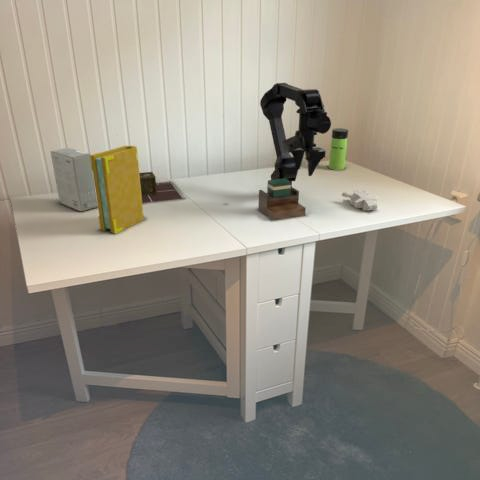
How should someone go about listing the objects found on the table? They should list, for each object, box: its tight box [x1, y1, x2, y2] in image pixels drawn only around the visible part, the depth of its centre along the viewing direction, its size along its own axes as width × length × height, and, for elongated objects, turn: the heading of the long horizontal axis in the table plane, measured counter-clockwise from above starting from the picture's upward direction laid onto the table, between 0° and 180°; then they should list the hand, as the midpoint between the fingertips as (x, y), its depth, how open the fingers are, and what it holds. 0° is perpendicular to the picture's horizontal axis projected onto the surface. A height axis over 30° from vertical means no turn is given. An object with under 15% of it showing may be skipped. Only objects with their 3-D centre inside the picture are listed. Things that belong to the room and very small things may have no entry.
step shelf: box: [258, 186, 307, 221], centre depth 190 cm, size 13×12×8 cm
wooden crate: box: [139, 171, 158, 197], centre depth 210 cm, size 7×7×7 cm
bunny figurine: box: [341, 189, 378, 212], centre depth 197 cm, size 10×5×15 cm
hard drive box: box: [50, 147, 98, 212], centre depth 193 cm, size 16×8×20 cm, turn 47°
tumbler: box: [328, 127, 349, 171], centre depth 240 cm, size 8×8×17 cm
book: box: [90, 145, 145, 235], centre depth 175 cm, size 17×7×25 cm, turn 148°
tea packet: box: [266, 178, 291, 198], centre depth 189 cm, size 7×5×5 cm
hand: (303, 172), depth 190 cm, fingers open, 9 cm apart
